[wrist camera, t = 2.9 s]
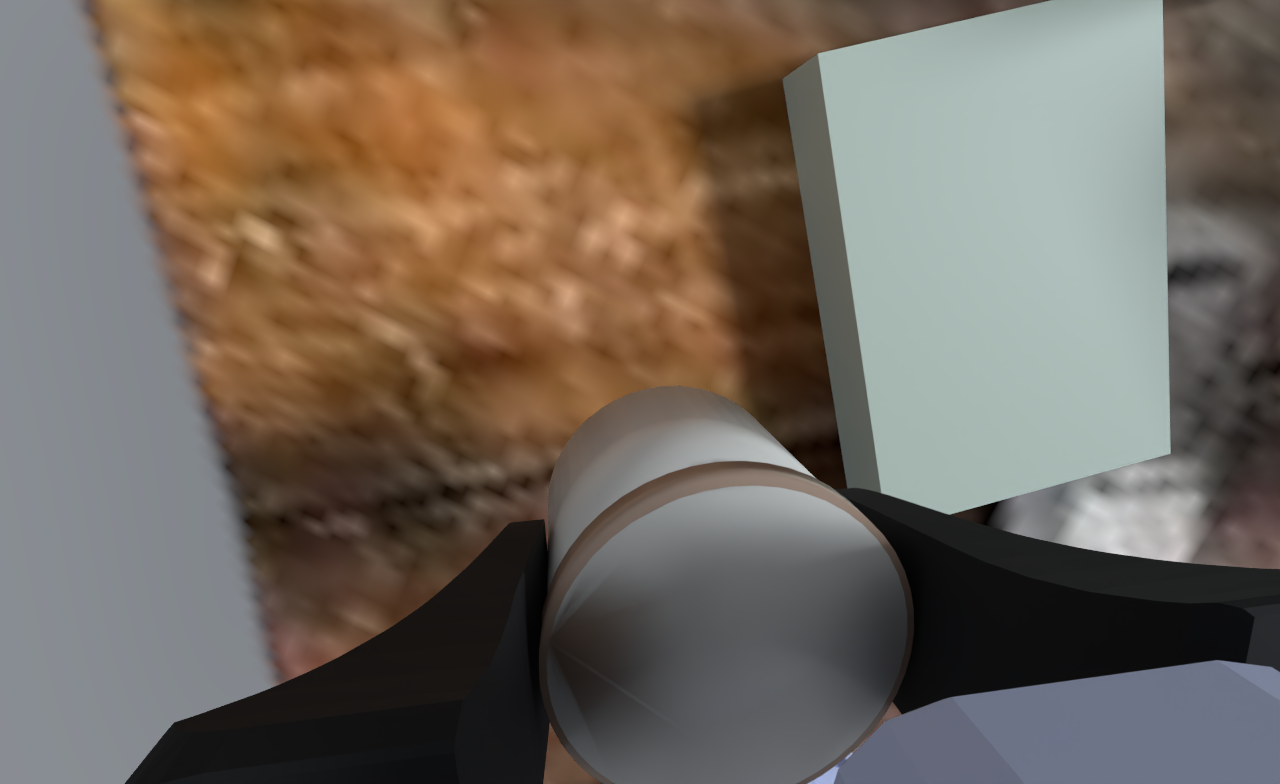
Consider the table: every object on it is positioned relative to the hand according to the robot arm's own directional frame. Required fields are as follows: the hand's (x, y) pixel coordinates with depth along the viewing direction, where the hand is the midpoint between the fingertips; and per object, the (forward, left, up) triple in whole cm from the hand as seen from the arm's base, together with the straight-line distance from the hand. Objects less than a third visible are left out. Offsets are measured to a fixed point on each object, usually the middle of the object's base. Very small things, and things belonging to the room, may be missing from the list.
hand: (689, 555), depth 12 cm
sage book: (+4, -10, -9) cm, 14 cm away
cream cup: (0, 0, -2) cm, 2 cm away
